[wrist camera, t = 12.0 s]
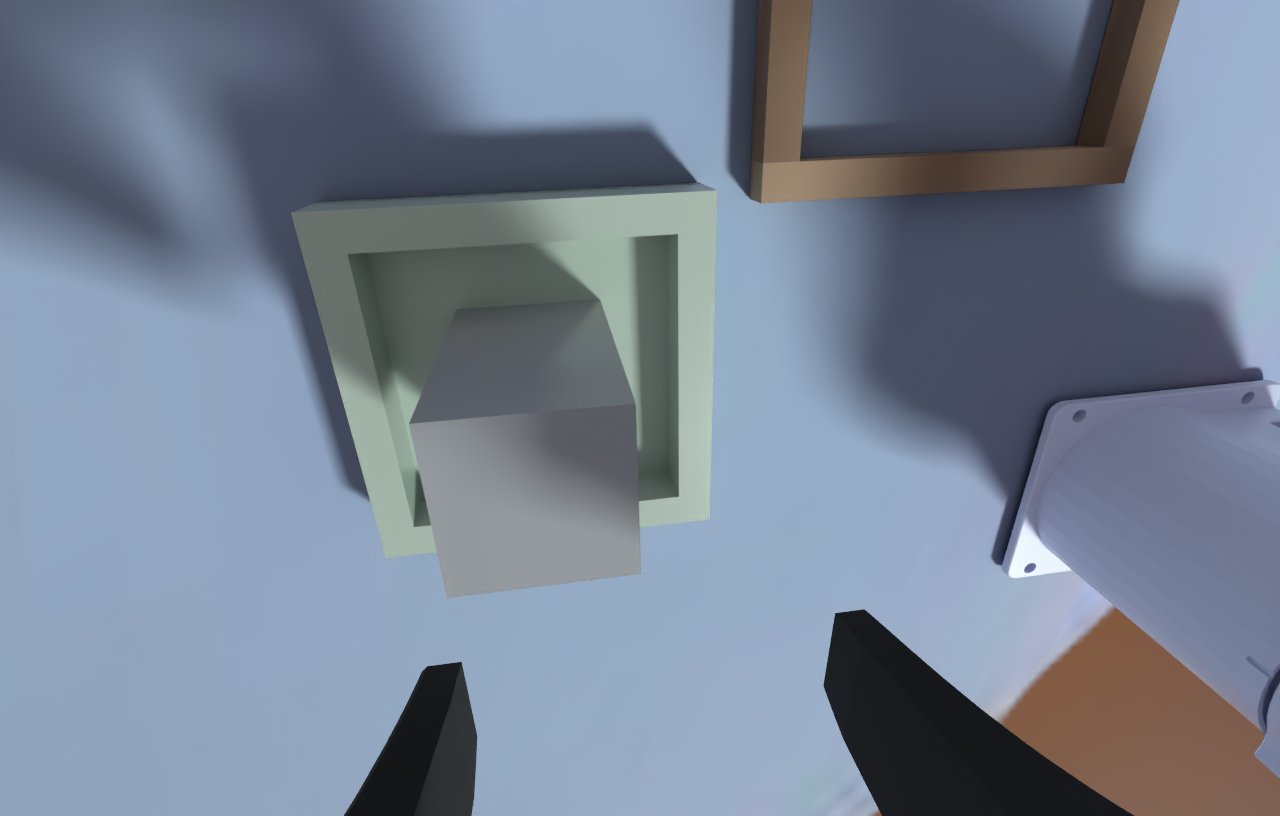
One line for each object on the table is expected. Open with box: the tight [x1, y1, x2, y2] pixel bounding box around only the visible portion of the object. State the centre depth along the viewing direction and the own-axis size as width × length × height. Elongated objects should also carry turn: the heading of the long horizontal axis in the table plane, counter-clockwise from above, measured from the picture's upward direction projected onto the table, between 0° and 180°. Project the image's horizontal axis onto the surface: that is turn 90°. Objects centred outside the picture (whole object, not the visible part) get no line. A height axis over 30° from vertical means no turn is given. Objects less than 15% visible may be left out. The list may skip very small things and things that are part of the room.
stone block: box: [409, 300, 641, 598], centre depth 15 cm, size 4×4×7 cm
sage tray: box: [291, 183, 717, 558], centre depth 17 cm, size 10×10×2 cm
